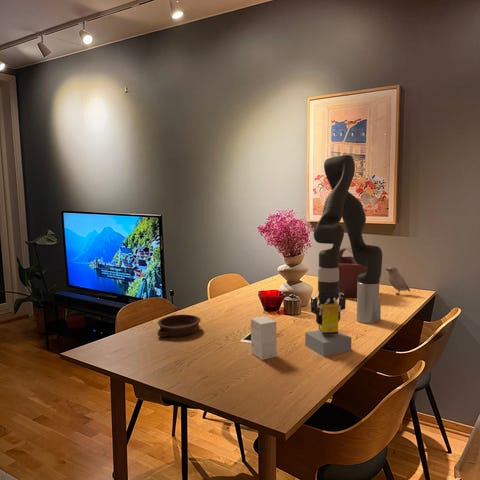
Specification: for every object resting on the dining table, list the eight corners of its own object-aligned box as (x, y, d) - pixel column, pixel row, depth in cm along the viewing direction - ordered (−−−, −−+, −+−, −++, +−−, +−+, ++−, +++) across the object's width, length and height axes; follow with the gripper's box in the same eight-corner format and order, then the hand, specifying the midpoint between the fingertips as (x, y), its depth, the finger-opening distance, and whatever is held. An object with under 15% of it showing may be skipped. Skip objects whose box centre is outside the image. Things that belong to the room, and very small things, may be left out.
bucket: (375, 300, 231) (376, 251, 227) (331, 301, 231) (331, 252, 228) (362, 288, 255) (363, 244, 251) (323, 289, 255) (323, 245, 252)
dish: (212, 328, 195) (212, 316, 194) (176, 344, 177) (176, 331, 176) (181, 321, 205) (181, 310, 204) (145, 335, 187) (144, 323, 186)
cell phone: (239, 342, 177) (239, 341, 177) (255, 329, 192) (255, 328, 192) (258, 345, 174) (258, 343, 174) (272, 332, 189) (272, 330, 189)
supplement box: (318, 329, 171) (318, 300, 170) (333, 328, 172) (334, 300, 170) (322, 334, 165) (322, 305, 164) (338, 334, 166) (338, 304, 164)
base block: (331, 340, 177) (331, 327, 176) (351, 350, 166) (351, 337, 166) (305, 345, 172) (305, 332, 172) (323, 356, 162) (323, 343, 161)
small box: (277, 357, 162) (276, 321, 160) (261, 360, 159) (261, 324, 157) (266, 349, 169) (265, 315, 167) (250, 352, 167) (250, 318, 165)
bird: (383, 293, 245) (384, 265, 243) (409, 293, 243) (410, 265, 241) (385, 295, 240) (385, 267, 238) (411, 296, 238) (412, 267, 236)
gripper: (338, 274, 172) (338, 317, 174) (306, 279, 166) (306, 322, 169) (351, 278, 165) (350, 322, 168) (317, 283, 159) (317, 328, 162)
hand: (328, 322), depth 168 cm, fingers closed on supplement box, 7 cm apart
